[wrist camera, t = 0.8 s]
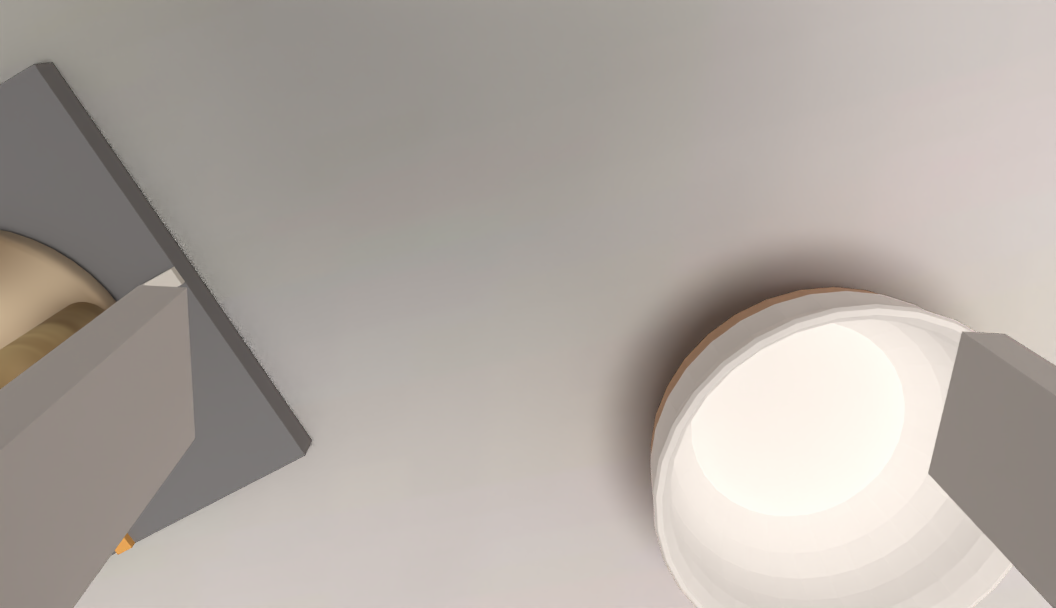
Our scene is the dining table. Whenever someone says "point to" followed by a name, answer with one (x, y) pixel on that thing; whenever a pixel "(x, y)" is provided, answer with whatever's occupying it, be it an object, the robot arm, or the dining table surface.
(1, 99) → the dial base
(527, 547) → the dining table surface
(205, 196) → the dining table surface
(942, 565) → the bowl
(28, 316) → the dial
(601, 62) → the dining table surface
